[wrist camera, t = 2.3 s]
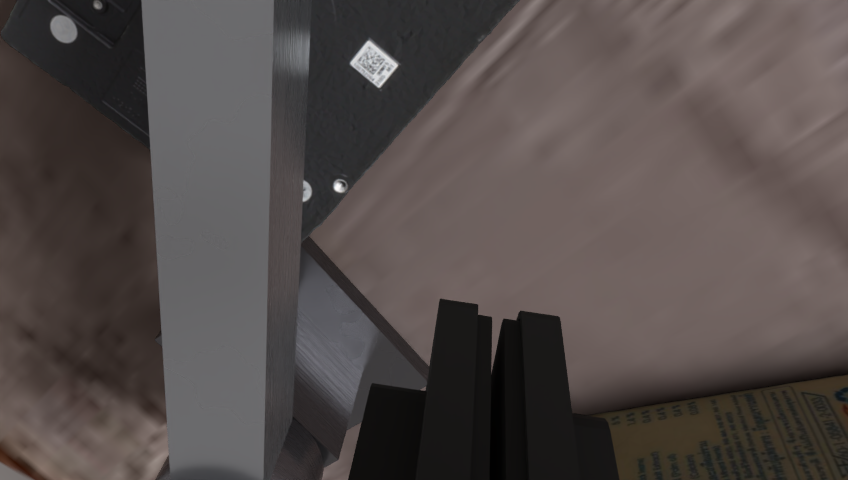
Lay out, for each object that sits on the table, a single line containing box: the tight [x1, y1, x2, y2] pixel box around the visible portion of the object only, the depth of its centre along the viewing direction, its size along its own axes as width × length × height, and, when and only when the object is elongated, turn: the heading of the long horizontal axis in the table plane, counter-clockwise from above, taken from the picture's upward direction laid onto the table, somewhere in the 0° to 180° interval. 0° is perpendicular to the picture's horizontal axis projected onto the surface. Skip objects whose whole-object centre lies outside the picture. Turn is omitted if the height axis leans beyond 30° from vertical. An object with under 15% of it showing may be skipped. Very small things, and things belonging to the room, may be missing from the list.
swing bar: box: [141, 0, 324, 480], centre depth 18 cm, size 21×4×4 cm, turn 173°
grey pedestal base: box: [155, 236, 429, 468], centre depth 26 cm, size 7×7×5 cm
